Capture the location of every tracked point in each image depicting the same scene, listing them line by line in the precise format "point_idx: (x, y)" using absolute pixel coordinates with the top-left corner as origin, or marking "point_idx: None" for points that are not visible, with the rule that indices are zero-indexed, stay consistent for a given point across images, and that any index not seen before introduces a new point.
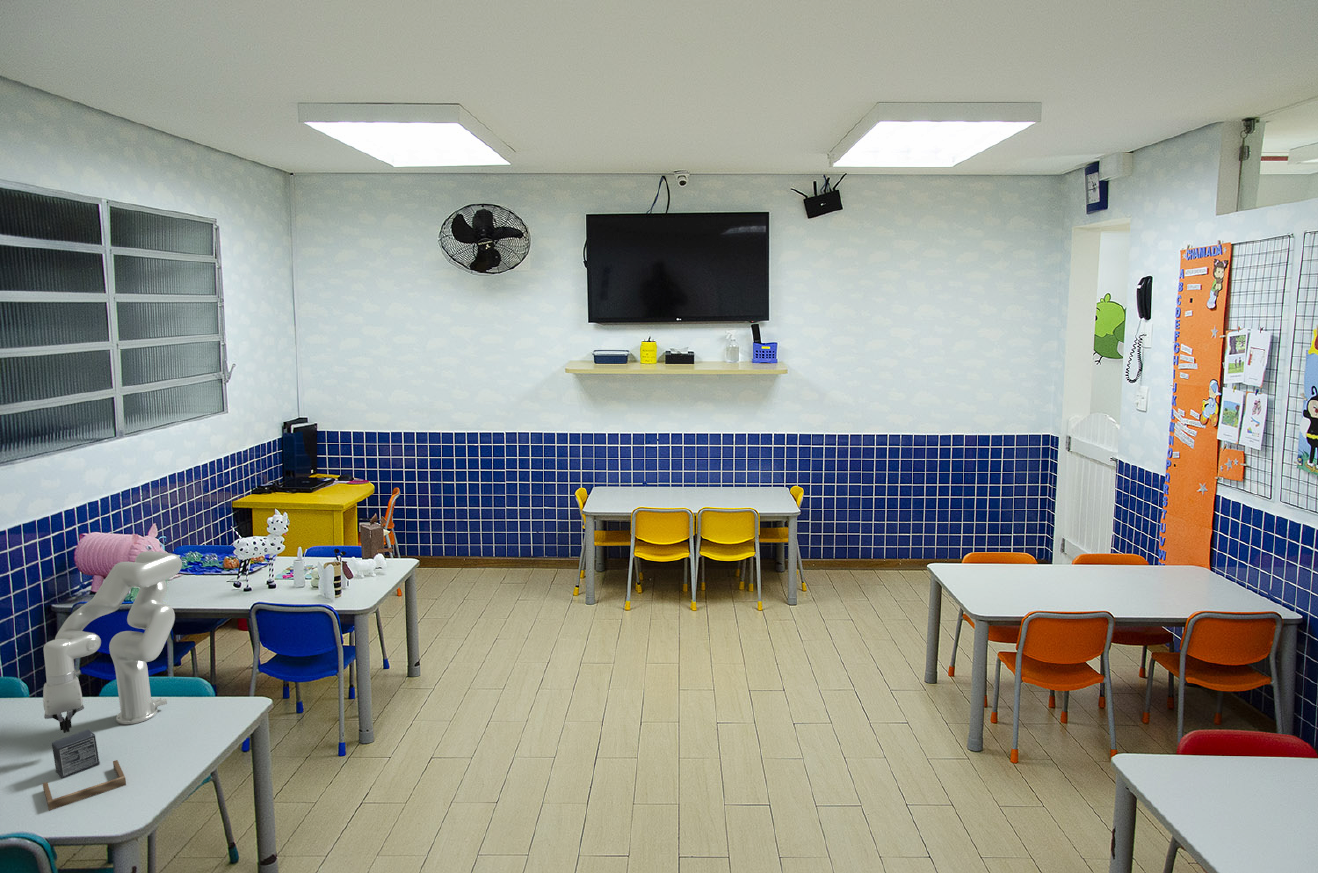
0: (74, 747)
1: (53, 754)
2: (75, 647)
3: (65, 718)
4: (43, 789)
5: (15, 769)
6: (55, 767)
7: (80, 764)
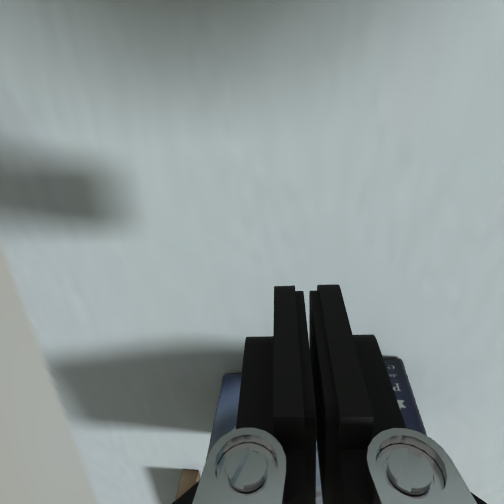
0: None
1: None
2: None
3: (336, 435)
4: (181, 479)
5: (8, 214)
6: (219, 401)
7: None
